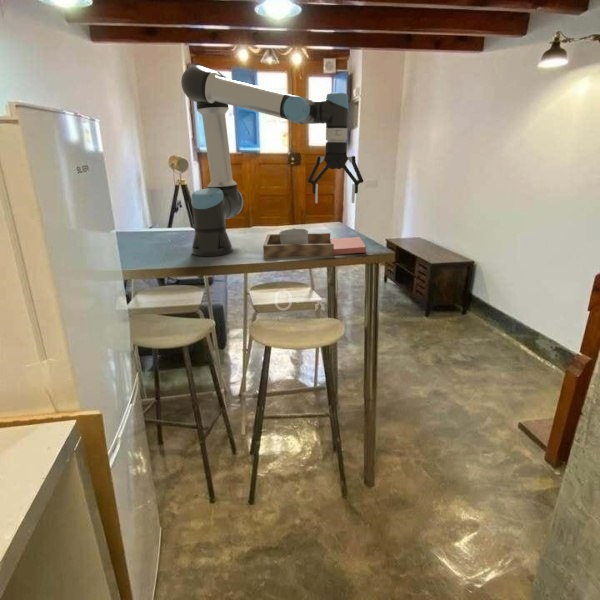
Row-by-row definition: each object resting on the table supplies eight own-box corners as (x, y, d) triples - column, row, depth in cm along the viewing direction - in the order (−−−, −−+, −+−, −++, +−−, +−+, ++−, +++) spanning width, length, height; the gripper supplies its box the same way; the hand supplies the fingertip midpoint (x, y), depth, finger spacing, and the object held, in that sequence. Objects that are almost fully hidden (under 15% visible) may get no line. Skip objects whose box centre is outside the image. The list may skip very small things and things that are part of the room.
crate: (263, 257, 153) (263, 245, 151) (268, 245, 172) (267, 234, 170) (333, 256, 152) (333, 244, 151) (329, 243, 171) (330, 233, 170)
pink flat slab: (333, 249, 153) (365, 246, 153) (329, 239, 169) (359, 236, 169) (333, 254, 154) (366, 252, 153) (330, 244, 170) (359, 241, 170)
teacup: (305, 255, 155) (305, 234, 152) (276, 254, 157) (276, 233, 154) (311, 246, 167) (311, 226, 165) (285, 246, 169) (284, 226, 167)
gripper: (301, 141, 145) (301, 204, 152) (373, 141, 145) (369, 203, 152) (301, 141, 152) (301, 201, 159) (369, 141, 152) (366, 201, 159)
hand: (334, 202), depth 156 cm, fingers open, 13 cm apart
